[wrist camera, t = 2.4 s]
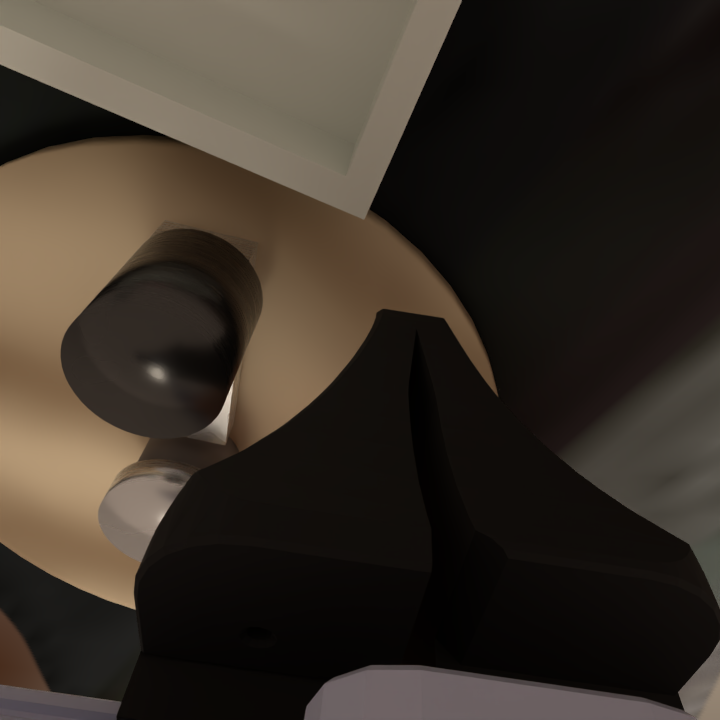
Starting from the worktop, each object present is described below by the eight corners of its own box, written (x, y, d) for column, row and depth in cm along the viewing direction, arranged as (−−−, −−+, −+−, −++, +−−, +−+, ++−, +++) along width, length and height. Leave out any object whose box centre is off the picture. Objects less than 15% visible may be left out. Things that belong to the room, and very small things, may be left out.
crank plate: (359, 654, 24) (354, 718, 22) (-93, 519, 21) (-146, 579, 19) (632, 313, 14) (666, 372, 12) (-116, -11, 12) (-223, -2, 10)
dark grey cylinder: (225, 613, 21) (191, 735, 18) (132, 595, 21) (81, 715, 17) (288, 231, 13) (247, 328, 9) (137, 195, 12) (41, 282, 9)
